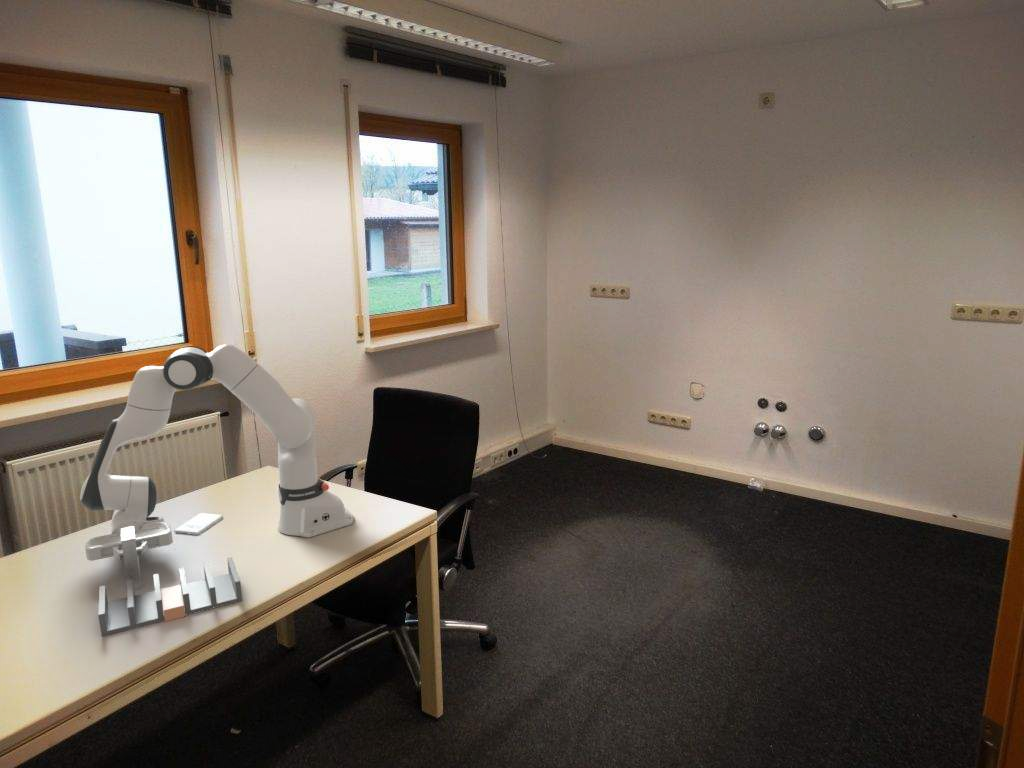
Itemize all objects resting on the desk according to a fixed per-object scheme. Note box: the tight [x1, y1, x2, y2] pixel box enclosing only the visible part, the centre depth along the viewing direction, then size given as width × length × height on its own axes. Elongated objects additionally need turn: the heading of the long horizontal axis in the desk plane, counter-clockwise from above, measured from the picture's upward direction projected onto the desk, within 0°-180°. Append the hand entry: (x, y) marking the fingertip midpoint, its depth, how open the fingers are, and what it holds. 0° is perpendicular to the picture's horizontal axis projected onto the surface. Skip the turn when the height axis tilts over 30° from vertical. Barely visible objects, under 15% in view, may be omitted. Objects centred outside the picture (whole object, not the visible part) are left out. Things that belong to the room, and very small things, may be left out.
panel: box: [121, 526, 143, 591], centre depth 176 cm, size 3×8×14 cm, turn 29°
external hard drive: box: [173, 512, 224, 536], centre depth 211 cm, size 2×8×12 cm
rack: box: [97, 556, 243, 637], centre depth 167 cm, size 30×15×6 cm, turn 120°
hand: (130, 554), depth 176 cm, fingers closed on panel, 3 cm apart
